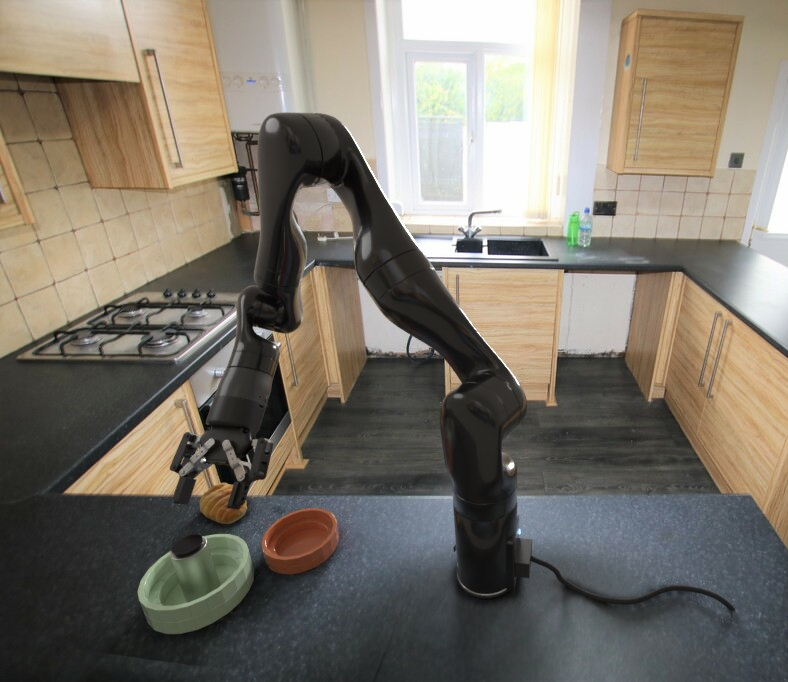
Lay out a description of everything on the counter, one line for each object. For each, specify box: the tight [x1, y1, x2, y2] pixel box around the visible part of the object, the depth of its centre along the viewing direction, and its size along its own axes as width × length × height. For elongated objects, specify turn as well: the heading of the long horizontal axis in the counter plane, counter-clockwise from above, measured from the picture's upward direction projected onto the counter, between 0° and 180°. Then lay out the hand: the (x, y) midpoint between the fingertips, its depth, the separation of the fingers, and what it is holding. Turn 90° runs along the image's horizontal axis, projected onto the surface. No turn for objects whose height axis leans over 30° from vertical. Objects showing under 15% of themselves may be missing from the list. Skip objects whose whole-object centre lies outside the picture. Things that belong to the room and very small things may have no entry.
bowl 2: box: [261, 507, 340, 576], centre depth 77 cm, size 11×11×4 cm
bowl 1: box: [137, 533, 255, 635], centre depth 69 cm, size 13×14×5 cm
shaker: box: [169, 533, 220, 602], centre depth 68 cm, size 4×4×9 cm
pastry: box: [198, 482, 248, 525], centre depth 85 cm, size 9×7×4 cm
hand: (206, 506), depth 69 cm, fingers open, 8 cm apart
